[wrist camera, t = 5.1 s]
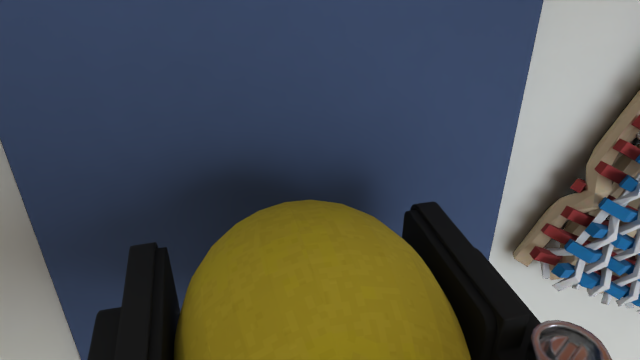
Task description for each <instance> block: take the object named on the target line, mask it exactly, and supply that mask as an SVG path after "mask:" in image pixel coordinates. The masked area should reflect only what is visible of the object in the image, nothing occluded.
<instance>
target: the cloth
mask: <svg viewBox="0 0 640 360" xmlns="http://www.w3.org/2000/svg"><path fill="white" fill-rule="evenodd" d="M542 4H543V0H0V140H1V142H2V145H3V148H4V151H5V153H6V156H7V159H8V161H9V164H10V167H11V170H12V172H13V175H14V178H15V180H16V183H17V186H18V189H19V191H20V194H21V197H22V200H23V202H24V205H25V208H26V210H27V213H28V216H29V219H30V221H31V224H32V227H33V230H34V232H35V235H36V238H37V240H38V243H39V246H40V249H41V251H42V254H43V257H44V260H45V262H46V265H47V268H48V270H49V273H50V276H51V279H52V281H53V284H54V287H55V290H56V292H57V295H58V298H59V300H60V303H61V306H62V309H63V311H64V314H65V317H66V319H67V322H68V325H69V328H70V330H71V333H72V336H73V339H74V341H75V344H76V347H77V349H78V352H79V355H80V358H81V360H88V354H89V349H90V344H91V339H92V334H93V329H94V324H95V319H96V316H97V313H98V312H99V311H100V310H106V309H112V308H118V307H121V306H122V299H123V292H124V284H125V277H126V270H127V263H128V256H129V249H130V246H133V245H140V244H146V243H153V242H156V243H157V245H158V248H163V247H167V250H168V254H169V259H170V264H171V269H172V273H173V278H174V283H175V288H176V293H177V298H178V302H179V307H180V312H181V309H182V305H183V302H184V299H185V295H186V292H187V288H188V286H189V283H190V281H191V278H192V276H193V275H194V273H195V271H196V270H197V268H198V267H199V265H200V264H201V262H202V261H203V259H204V257H205V256H206V254H207V253H208V251H209V250H210V248H211V247H212V246H213V245H214V244H215V243H216V242H217V241H218V240H219V239H220V238H221V237H222V236H223V235H224V234H225V233H227V232H228V231H229V230H230V229H231V228H232V227H233V226H234V225H235V224H236V223H238V222H240V221H242V220H243V219H245V218H247V217H249V216H250V215H252V214H254V213H256V212H257V211H259V210H262V209H265V208H268V207H271V206H274V205H278V204H281V203H284V202H291V201H301V200H318V201H326V202H334V203H340V204H344V205H346V206H349V207H351V208H354V209H357V210H359V211H362V212H364V213H367V214H369V215H371V216H373V217H375V218H376V219H378V220H379V221H381V222H382V223H383V224H385V225H386V226H387V227H388V228H390V229H391V230H392V231H394V232H395V233H396V234H397V235H399V236H400V237H401V238H402V231H403V222H404V214H405V212H406V211H410V208H411V206H412V205H413V204H419V203H426V202H432V201H434V202H436V203H437V204H438V205H439V206H440V207H441V208H442V210H443V211H444V212H445V213H446V214H447V216H448V217H449V218H450V219H451V220H452V222H453V223H454V224H455V225H456V226H457V228H458V229H459V230H460V231H461V232H462V234H463V235H464V236H465V237H466V238H467V240H468V241H469V242H470V243H471V244H472V246H473V247H474V248H477V249H478V250H479V251H480V252H481V253H482V254H483V255H484V256H485V257H486V259H487V260H489V256H490V251H491V246H492V241H493V237H494V232H495V227H496V222H497V218H498V213H499V208H500V203H501V199H502V194H503V189H504V184H505V180H506V175H507V170H508V165H509V161H510V156H511V151H512V147H513V142H514V137H515V132H516V128H517V123H518V118H519V113H520V109H521V104H522V99H523V94H524V90H525V85H526V80H527V75H528V71H529V66H530V61H531V56H532V52H533V47H534V42H535V37H536V33H537V28H538V23H539V18H540V14H541V9H542Z"/></svg>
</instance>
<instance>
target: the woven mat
mask: <svg viewBox="0 0 640 360" xmlns="http://www.w3.org/2000/svg"><path fill="white" fill-rule="evenodd" d="M635 137H637V138H638V139H639V140H640V90H639V91H638V93H637V94H636V95H635V97H634V98H633V99H632V100H631V102H630V103H629V104H628V105H627V107H626V108H625V109H624V111H623V112H622V113H621V114H620V116H619V117H618V118H617V120H616V121H615V122H614V123H613V125H612V126H611V127H610V129H609V130H608V131H607V132H606V134H605V135H604V136H603V138H602V139H601V140H600V141H599V143H598V144H597V145H596V146H595V148H594V150H593V152H592V154H591V156H590V158H589V160H588V163H587V165H586V181H584V180H582V179H581V178H579V179H576V181H575V182H574V183H573V184H572V186H571V187H570V188H571V189H573V190H574V191H576V193H573V194H570V195H567V196H564V197H561V198H560V199H559V200H557V201H556V202H555V203H554V204H553V205H551V206H550V207H549V208H548V209H547V210H546V211H545V213H544V214H543V215H542V217H541V218H540V219H539V220H538V222H537V223H536V224H535V226H534V227H533V228H532V229H531V231H530V232H529V233H528V235H527V236H526V237H525V238H524V240H523V241H522V242H521V243H520V245H519V246H518V247H517V249H516V250H515V251H514V252H513V255H514V259H516V260H517V261H519V262H521V263H522V264H524V265H525V266H527V267H528V265H529V264H530V263H531V262H532V261H533V260H537V261H541V268H542V275H543V278H545V279H548V278H550V279H551V280H555V279H562V278H564V279H563V280H561V281H560V282H558V283H556V284H554V285H552V286H553V287H554V288H556V289H557V290H558V291H560V290H562V289H565V288H567V287H570V286H572V285H573V286H572V288H574V289H578V290H579V288H580V285H581V286H582V287H586V288H587V292H588V294H589V296H594V297H595V295H596V294H598V293H603V292H604V295H603V298H602V301H601V303H603V304H607V305H609V303H610V300H611V298H612V296H613V297H615V298H617V299H619V300H617V301H616V302H617V304H618V306H621V305H624V304H625V305H626V308H633V307H634V305H636V306H639V307H640V144H638V145H635V146H634V145H632V144H631V142H632V141H633V140H634V139H635ZM622 154H623V155H622ZM621 155H622V156H621ZM609 214H610V219H609V220H607V219H606V218H607V217H608V216H609ZM605 219H606V220H605ZM567 221H568V222H567ZM566 222H567V224H566V226H565V228H564V230H563V229H561V228H562V226H563V225H564V224H565V223H566ZM551 239H554V240H556V241H558V242H560V248H545V249H544V247H545V246H546V245H547V244H548V242H549V241H550V240H551ZM634 255H635V256H634ZM621 297H624V298H622V299H620V298H621ZM636 312H638V313H639V314H640V310H638V311H636Z"/></svg>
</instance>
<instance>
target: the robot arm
mask: <svg viewBox="0 0 640 360" xmlns="http://www.w3.org/2000/svg"><path fill="white" fill-rule="evenodd" d="M402 238H403V239H404V240H405V241H406V242H407V243H408V244H409V245H410V246H411V247H412V248H413V249H414V250H415V251H416V252H417V253H418V255H419V256H420V257H421V258H422V259H423V261H424V262H425V264H426V265H427V266H428V268H429V269H430V271H431V272H432V274H433V276H434V277H435V279H436V280H437V282H438V284H439V285H440V287H441V289H442V290H443V292H444V294H445V295H446V297H447V299H448V301H449V302H450V304H451V306H452V308H453V310H454V313H455V315H456V317H457V319H458V322H459V324H460V327H461V329H462V332H463V334H464V337H465V341H466V344H467V347H468V350H469V353H470V357H471V360H612V359H611V357H610V355H609V353H608V351H607V349H606V348H605V346H604V345H603V344H602V342H601V341H600V340H599V339H598V338H597V337H596V336H594V335H593V334H592V333H591V332H589V331H587V330H586V329H584V328H582V327H581V326H578V325H575V324H573V323H570V322H565V321H559V320H554V321H546V322H543V323H540V322H539V320H538V319H537V318H536V317H535V316H534V314H533V313H532V312H531V311H530V310H529V308H528V307H527V306H526V305H525V304H524V303H523V301H522V300H521V299H520V298H519V297H518V295H517V294H516V293H515V292H514V291H513V289H512V288H511V287H510V286H509V285H508V284H507V282H506V281H505V280H504V279H503V278H502V276H501V275H500V274H499V273H498V272H497V270H496V269H495V268H494V267H493V266H492V265H491V263H490V262H489V261H488V260H487V259H486V257H485V256H484V255H483V254H482V253H481V252H480V251H479V250H478V249H477V248H474V247H473V246H472V244H471V243H470V242H469V241H468V240H467V238H466V237H465V236H464V235H463V234H462V232H461V231H460V230H459V229H458V228H457V226H456V225H455V224H454V223H453V222H452V220H451V219H450V218H449V217H448V216H447V214H446V213H445V212H444V211H443V210H442V208H441V207H440V206H439V205H438V204H437V203H436V202H434V201H432V202H426V203H419V204H413V205H412V206H411V208H410V211H406V212H405V214H404V222H403V231H402ZM179 316H180V307H179V302H178V298H177V293H176V288H175V283H174V278H173V273H172V269H171V264H170V259H169V254H168V250H167V247H163V248H158V245H157V243H156V242H153V243H146V244H140V245H133V246H130V249H129V256H128V263H127V270H126V277H125V284H124V292H123V299H122V306H121V307H118V308H112V309H106V310H100V311H99V312H98V313H97V316H96V319H95V324H94V329H93V334H92V339H91V344H90V349H89V354H88V360H174V341H175V334H176V328H177V324H178V320H179Z"/></svg>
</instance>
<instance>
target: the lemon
mask: <svg viewBox="0 0 640 360" xmlns="http://www.w3.org/2000/svg"><path fill="white" fill-rule="evenodd" d="M174 360H471V357H470V353H469V350H468V347H467V344H466V341H465V337H464V334H463V332H462V329H461V327H460V324H459V322H458V319H457V317H456V315H455V313H454V310H453V308H452V306H451V304H450V302H449V301H448V299H447V297H446V295H445V294H444V292H443V290H442V289H441V287H440V285H439V284H438V282H437V280H436V279H435V277H434V276H433V274H432V272H431V271H430V269H429V268H428V266H427V265H426V264H425V262H424V261H423V259H422V258H421V257H420V256H419V255H418V253H417V252H416V251H415V250H414V249H413V248H412V247H411V246H410V245H409V244H408V243H407V242H406V241H405V240H404V239H403V238H401V237H400V236H399V235H397V234H396V233H395V232H394V231H392V230H391V229H390V228H388V227H387V226H386V225H385V224H383V223H382V222H381V221H379V220H378V219H376V218H375V217H373V216H371V215H369V214H367V213H364V212H362V211H359V210H357V209H354V208H351V207H349V206H346V205H344V204H340V203H334V202H326V201H318V200H301V201H291V202H284V203H281V204H278V205H274V206H271V207H268V208H265V209H262V210H259V211H257V212H256V213H254V214H252V215H250V216H249V217H247V218H245V219H243V220H242V221H240V222H238V223H236V224H235V225H234V226H233V227H232V228H231V229H230V230H229V231H228V232H227V233H225V234H224V235H223V236H222V237H221V238H220V239H219V240H218V241H217V242H216V243H215V244H214V245H213V246H212V247H211V248H210V250H209V251H208V253H207V254H206V256H205V257H204V259H203V261H202V262H201V264H200V265H199V267H198V268H197V270H196V271H195V273H194V275H193V276H192V278H191V281H190V283H189V286H188V288H187V292H186V295H185V299H184V302H183V305H182V309H181V312H180V316H179V320H178V324H177V328H176V334H175V341H174Z"/></svg>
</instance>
